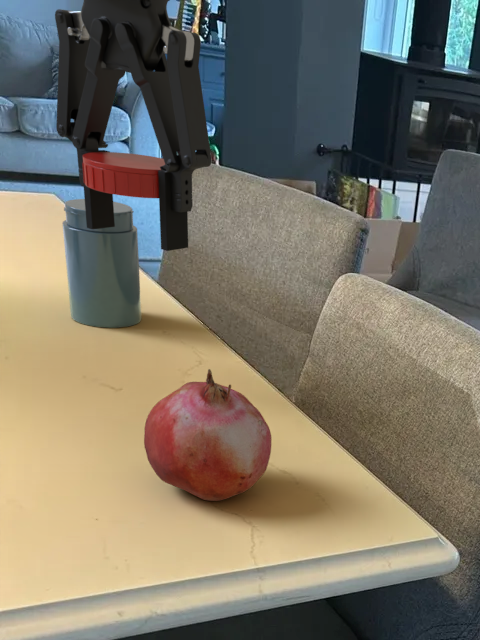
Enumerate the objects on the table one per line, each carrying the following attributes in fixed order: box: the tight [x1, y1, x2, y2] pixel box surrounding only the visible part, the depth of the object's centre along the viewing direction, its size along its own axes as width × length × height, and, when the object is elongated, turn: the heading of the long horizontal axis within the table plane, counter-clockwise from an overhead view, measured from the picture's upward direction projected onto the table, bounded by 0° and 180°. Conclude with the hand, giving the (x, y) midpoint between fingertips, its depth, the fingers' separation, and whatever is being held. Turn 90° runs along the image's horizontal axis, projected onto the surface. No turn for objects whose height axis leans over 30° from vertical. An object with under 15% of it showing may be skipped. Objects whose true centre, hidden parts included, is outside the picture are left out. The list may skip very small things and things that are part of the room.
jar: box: [62, 198, 142, 329], centre depth 98 cm, size 8×8×12 cm
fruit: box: [143, 368, 272, 502], centre depth 67 cm, size 9×10×10 cm
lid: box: [82, 151, 165, 199], centre depth 79 cm, size 8×8×2 cm
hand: (137, 237), depth 82 cm, fingers closed on lid, 8 cm apart
